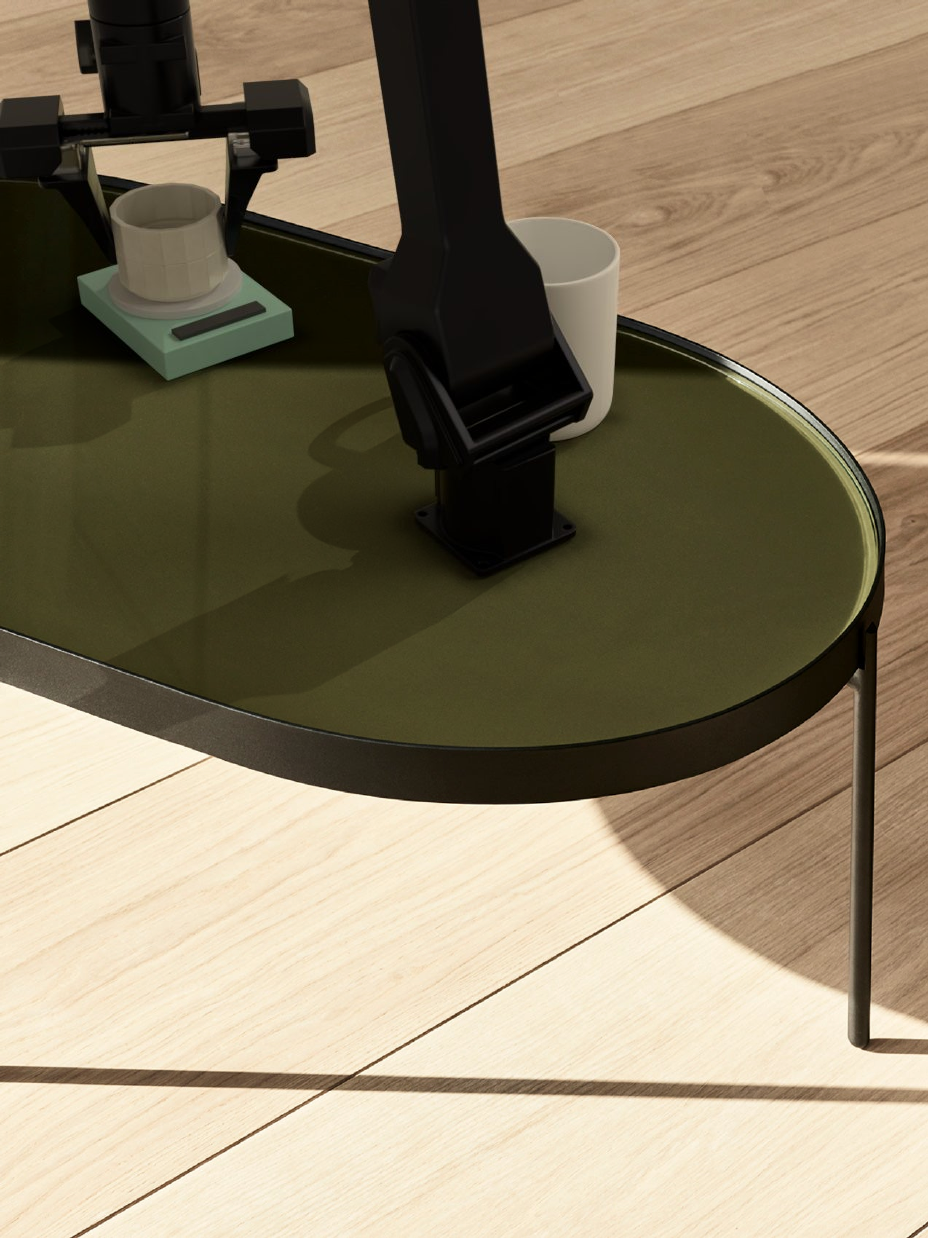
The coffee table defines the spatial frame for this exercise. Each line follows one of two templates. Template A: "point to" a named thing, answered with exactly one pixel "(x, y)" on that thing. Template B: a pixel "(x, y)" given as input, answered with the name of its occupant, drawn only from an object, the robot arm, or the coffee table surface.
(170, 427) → the coffee table surface
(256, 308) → the scale
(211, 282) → the bowl
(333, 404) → the coffee table surface
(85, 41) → the robot arm
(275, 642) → the coffee table surface
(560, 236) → the cup
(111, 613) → the coffee table surface
